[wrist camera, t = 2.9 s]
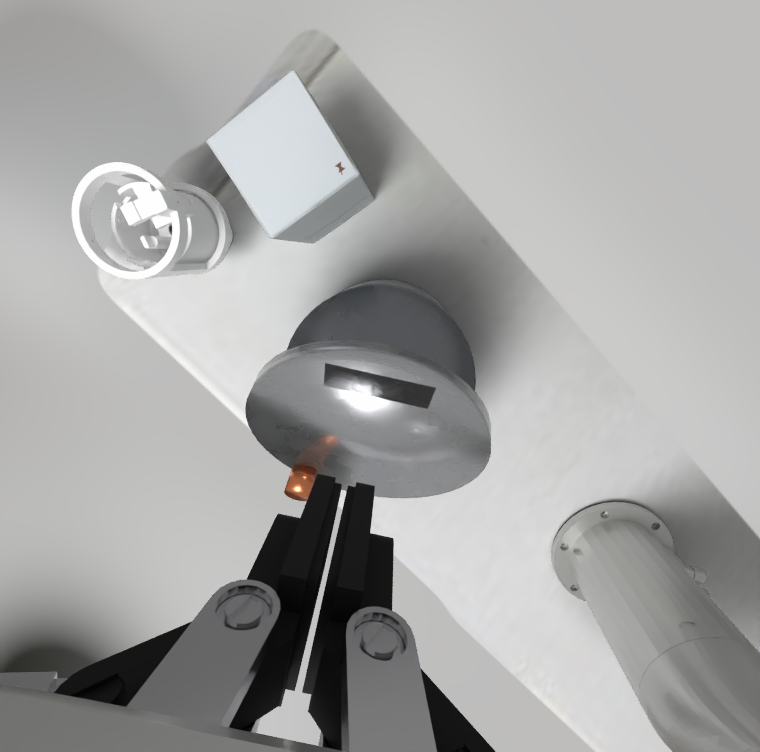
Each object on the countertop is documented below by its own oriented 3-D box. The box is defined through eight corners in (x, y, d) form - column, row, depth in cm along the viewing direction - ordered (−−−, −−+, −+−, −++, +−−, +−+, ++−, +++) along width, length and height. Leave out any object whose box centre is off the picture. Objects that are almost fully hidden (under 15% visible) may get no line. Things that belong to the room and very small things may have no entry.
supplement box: (331, 125, 38) (296, 62, 26) (376, 201, 39) (363, 176, 27) (264, 175, 39) (201, 138, 27) (310, 246, 41) (270, 242, 28)
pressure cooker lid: (533, 377, 23) (537, 432, 21) (452, 496, 35) (449, 539, 33) (241, 312, 23) (214, 360, 21) (262, 454, 35) (247, 494, 33)
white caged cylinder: (265, 256, 41) (190, 255, 27) (201, 283, 42) (95, 296, 28) (233, 181, 39) (133, 137, 25) (167, 212, 40) (35, 186, 26)
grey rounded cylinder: (477, 298, 41) (499, 310, 31) (438, 439, 45) (447, 488, 35) (324, 263, 41) (299, 265, 31) (298, 408, 45) (270, 449, 35)
